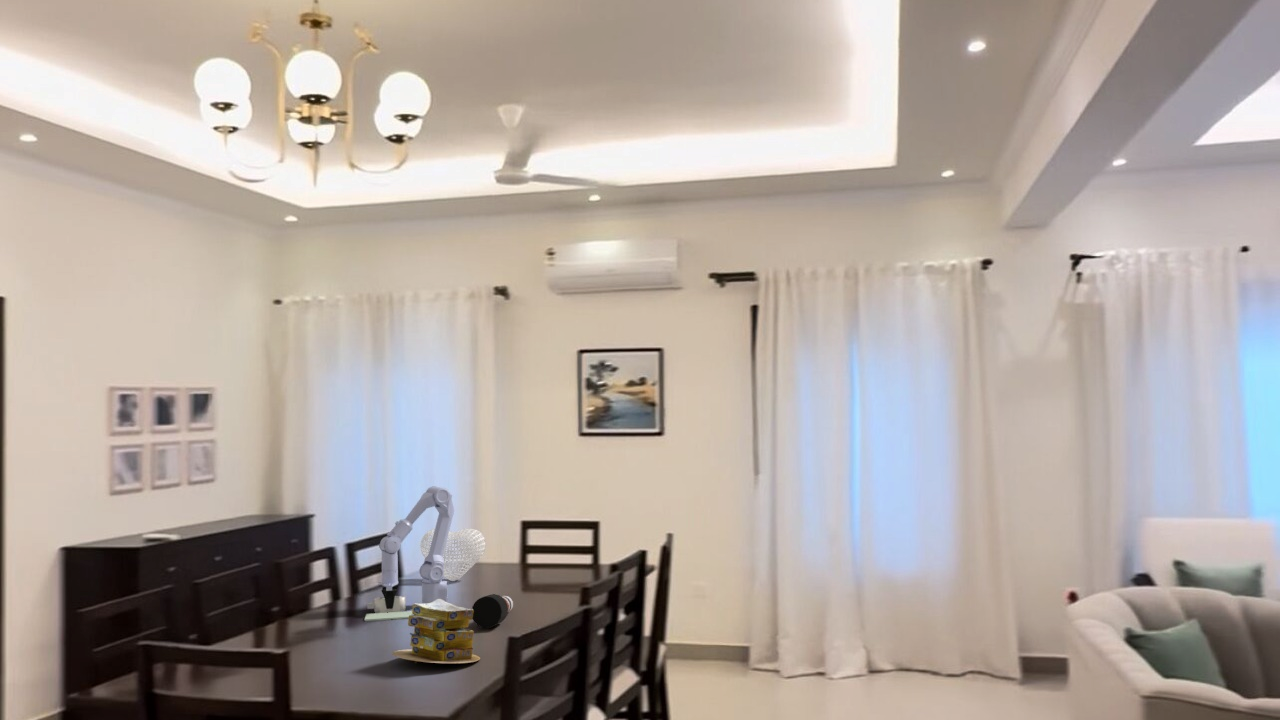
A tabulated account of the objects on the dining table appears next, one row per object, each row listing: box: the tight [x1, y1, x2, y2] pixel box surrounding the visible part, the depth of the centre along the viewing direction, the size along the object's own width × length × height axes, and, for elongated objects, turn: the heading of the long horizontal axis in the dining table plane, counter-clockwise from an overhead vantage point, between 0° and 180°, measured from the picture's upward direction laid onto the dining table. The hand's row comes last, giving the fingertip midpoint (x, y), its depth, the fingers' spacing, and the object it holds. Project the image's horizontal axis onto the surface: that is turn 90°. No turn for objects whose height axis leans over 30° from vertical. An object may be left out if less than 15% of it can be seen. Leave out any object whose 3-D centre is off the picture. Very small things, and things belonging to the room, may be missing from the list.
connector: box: [366, 595, 407, 613], centre depth 353 cm, size 13×4×5 cm, turn 102°
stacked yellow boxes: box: [391, 599, 481, 664], centre depth 279 cm, size 25×25×17 cm
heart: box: [420, 528, 487, 582], centre depth 416 cm, size 28×16×22 cm, turn 84°
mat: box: [364, 610, 413, 622], centre depth 343 cm, size 16×10×1 cm, turn 102°
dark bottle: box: [471, 593, 514, 629], centre depth 336 cm, size 10×34×10 cm, turn 173°
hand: (390, 607), depth 353 cm, fingers closed on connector, 4 cm apart
